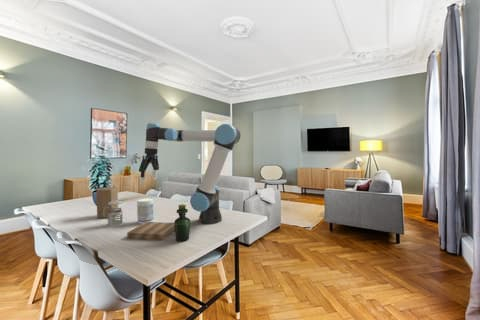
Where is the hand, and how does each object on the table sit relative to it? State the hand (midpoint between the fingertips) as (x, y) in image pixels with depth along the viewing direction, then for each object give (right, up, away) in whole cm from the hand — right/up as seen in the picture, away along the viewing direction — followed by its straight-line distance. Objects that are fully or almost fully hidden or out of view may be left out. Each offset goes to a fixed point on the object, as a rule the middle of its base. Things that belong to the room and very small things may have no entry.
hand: (148, 181), depth 138 cm
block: (-36, -27, +16) cm, 47 cm away
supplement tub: (-3, -27, +3) cm, 28 cm away
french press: (-21, -28, -2) cm, 34 cm away
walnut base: (+10, -28, -16) cm, 34 cm away
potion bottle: (+28, -28, -25) cm, 47 cm away
